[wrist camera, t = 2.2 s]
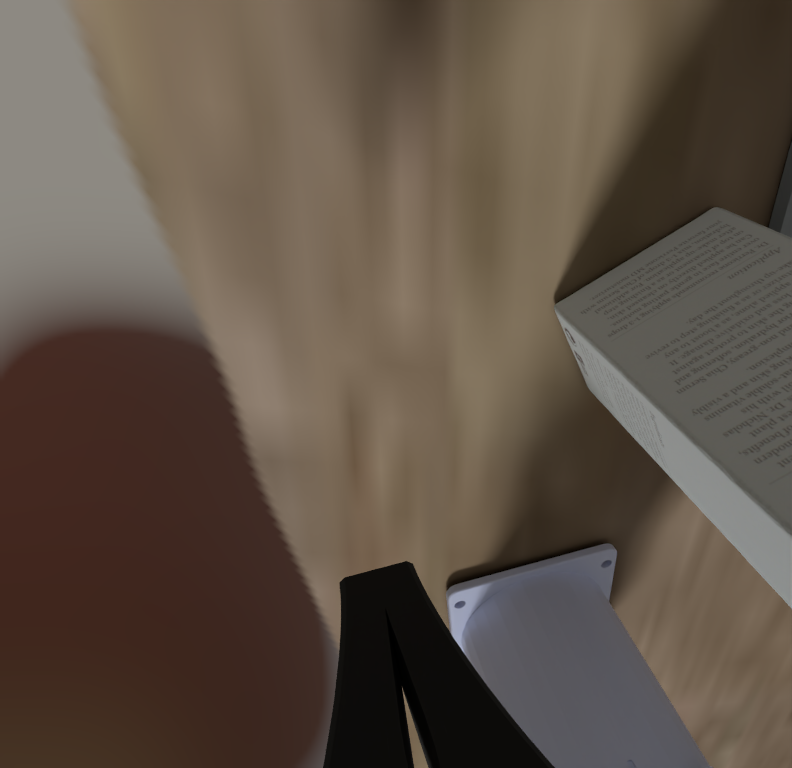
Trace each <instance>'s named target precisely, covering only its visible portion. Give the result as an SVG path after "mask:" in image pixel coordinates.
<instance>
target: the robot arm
mask: <svg viewBox="0 0 792 768" xmlns="http://www.w3.org/2000/svg"><path fill="white" fill-rule="evenodd" d="M616 557H617V550H616V549H615V548H614V546H613V545H612V544H609V543H606V544H601V545H598V546H594V547H590V548H587V549H583V550H579V551H576V552H572V553H568V554H565V555H561V556H557V557H554V558H550V559H547V560H543V561H539V562H536V563H532V564H528V565H525V566H521V567H517V568H514V569H510V570H506V571H503V572H499V573H495V574H492V575H488V576H484V577H481V578H477V579H473V580H470V581H466V582H462V583H459V584H455V585H453V586H451V587H450V588H449V589H448V590H447V592H446V598H447V607H448V617H449V626H450V632H449V630H448V628H447V627H446V625H445V624H444V622H443V620H442V619H441V617H440V615H439V614H438V612H437V611H436V609H435V607H434V606H433V604H432V602H431V600H430V598H429V597H428V595H427V593H426V591H425V589H424V587H423V585H422V583H421V581H420V579H419V577H418V575H417V573H416V571H415V568H414V566H413V564H412V563H410V562H407V561H405V562H402V563H398V564H394V565H390V566H387V567H383V568H379V569H375V570H371V571H368V572H364V573H360V574H356V575H353V576H349V577H345V578H344V579H343V580H342V581H341V582H340V593H341V635H340V651H339V662H338V671H337V680H336V689H335V699H334V705H333V712H332V718H331V725H330V730H329V736H328V743H327V749H326V755H325V761H324V766H323V768H414V764H413V758H412V751H411V744H410V738H409V731H408V724H407V718H406V711H405V705H404V698H403V691H404V694H405V697H406V700H407V703H408V706H409V709H410V712H411V715H412V718H413V721H414V724H415V728H416V731H417V734H418V737H419V740H420V743H421V746H422V749H423V752H424V755H425V758H426V761H427V764H428V767H429V768H713V767H711V766H710V765H709V764H708V762H707V760H706V759H705V757H704V756H703V754H702V752H701V751H700V749H699V747H698V746H697V744H696V743H695V741H694V739H693V738H692V736H691V734H690V733H689V731H688V729H687V728H686V726H685V725H684V723H683V721H682V720H681V718H680V716H679V715H678V713H677V712H676V710H675V708H674V707H673V705H672V703H671V702H670V700H669V699H668V697H667V695H666V694H665V692H664V690H663V689H662V687H661V686H660V684H659V682H658V681H657V679H656V677H655V676H654V674H653V673H652V671H651V669H650V668H649V666H648V664H647V663H646V661H645V660H644V658H643V656H642V655H641V653H640V651H639V650H638V648H637V647H636V645H635V643H634V642H633V640H632V638H631V637H630V635H629V634H628V632H627V630H626V629H625V627H624V625H623V624H622V622H621V620H620V619H619V617H618V616H617V614H616V612H615V611H614V609H613V607H612V606H611V604H610V603H609V599H610V593H611V587H612V581H613V575H614V569H615V563H616ZM402 688H403V691H402Z"/></svg>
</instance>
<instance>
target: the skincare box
mask: <svg viewBox="0 0 792 768" xmlns="http://www.w3.org/2000/svg"><path fill="white" fill-rule="evenodd" d="M554 310H555V312H556V314H557V317H558V319H559V321H560V324H561V326H562V328H563V331H564V333H565V335H566V338H567V340H568V343H569V345H570V347H571V349H572V352H573V354H574V356H575V358H576V360H577V363H578V365H579V367H580V370H581V372H582V374H583V377H584V379H585V382H586V384H587V387H588V388H589V390H590V391H591V392H592V393H593V394H594V395H595V396H596V398H597V399H598V400H599V401H600V402H601V403H602V404H603V405H604V406H605V407H606V408H607V409H608V410H609V411H610V412H611V414H612V415H613V416H614V417H615V418H616V419H617V420H618V421H619V422H620V423H621V425H622V426H623V427H624V428H625V429H626V430H627V431H628V432H629V433H630V435H631V436H632V437H633V438H634V439H635V440H636V441H637V442H638V443H639V444H640V445H641V446H642V447H643V448H644V449H645V451H646V452H647V453H648V454H649V455H650V456H651V457H652V458H653V459H654V460H655V461H656V462H657V464H658V465H659V466H660V467H661V468H662V469H663V470H664V471H665V472H666V473H667V474H668V475H669V477H670V478H671V479H672V480H673V481H674V482H675V483H676V484H677V485H678V486H679V487H680V488H681V489H682V490H683V492H684V493H685V494H686V495H687V496H688V497H689V498H690V499H691V500H692V501H693V502H694V503H695V505H696V506H697V507H698V508H699V509H700V510H701V511H702V512H703V513H704V514H705V515H706V516H707V518H708V519H709V520H710V521H711V522H712V523H713V524H714V525H715V526H716V527H717V528H718V529H719V530H720V531H721V532H722V534H723V535H724V536H725V537H726V538H727V539H728V540H729V541H730V542H731V543H732V544H733V545H734V546H735V547H736V548H737V550H738V551H739V552H740V553H741V554H742V555H743V556H744V557H745V558H746V560H747V561H748V562H749V563H750V564H751V565H752V566H753V567H754V568H755V569H756V570H757V572H758V573H759V574H760V575H761V576H762V577H763V578H764V579H765V580H766V581H767V582H768V583H769V584H770V585H771V587H772V588H773V589H774V590H775V591H776V592H777V593H778V594H779V595H780V596H781V597H782V598H783V599H784V601H785V602H786V603H787V604H788V605H789V606H790V607H791V608H792V238H791V237H788V236H786V235H784V234H781V233H779V232H776V231H774V230H772V229H770V228H767V227H765V226H763V225H760V224H758V223H756V222H753V221H751V220H749V219H746V218H744V217H742V216H739V215H737V214H735V213H732V212H730V211H727V210H725V209H723V208H719V207H714V208H712V209H710V210H709V211H707V212H706V213H704V214H702V215H701V216H699V217H698V218H696V219H695V220H693V221H691V222H690V223H688V224H686V225H685V226H683V227H682V228H680V229H678V230H677V231H675V232H673V233H672V234H670V235H668V236H667V237H665V238H663V239H662V240H660V241H658V242H657V243H655V244H654V245H652V246H650V247H649V248H647V249H645V250H644V251H642V252H641V253H639V254H637V255H636V256H634V257H632V258H631V259H629V260H628V261H626V262H624V263H623V264H621V265H619V266H618V267H616V268H614V269H613V270H611V271H609V272H608V273H606V274H605V275H603V276H601V277H600V278H598V279H596V280H595V281H593V282H591V283H590V284H588V285H586V286H585V287H583V288H581V289H580V290H578V291H577V292H575V293H573V294H572V295H570V296H569V297H567V298H565V299H563V300H562V301H560V302H558V303H557V304H555V305H554Z"/></svg>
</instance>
